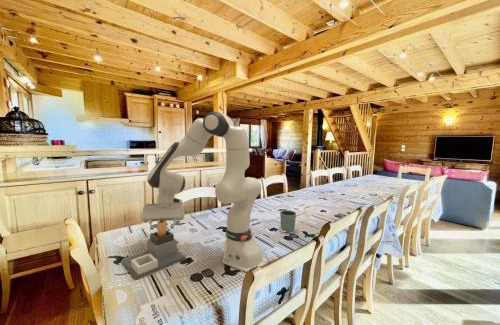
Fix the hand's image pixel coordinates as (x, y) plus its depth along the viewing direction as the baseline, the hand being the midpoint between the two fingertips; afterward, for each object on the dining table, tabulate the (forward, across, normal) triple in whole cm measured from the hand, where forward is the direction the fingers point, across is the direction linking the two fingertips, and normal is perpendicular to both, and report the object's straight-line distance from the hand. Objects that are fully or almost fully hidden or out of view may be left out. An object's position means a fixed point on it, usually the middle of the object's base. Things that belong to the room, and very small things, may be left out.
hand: (161, 228), depth 105 cm
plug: (+4, 0, +4) cm, 6 cm away
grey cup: (-4, +73, +23) cm, 77 cm away
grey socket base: (+13, -2, +5) cm, 14 cm away
